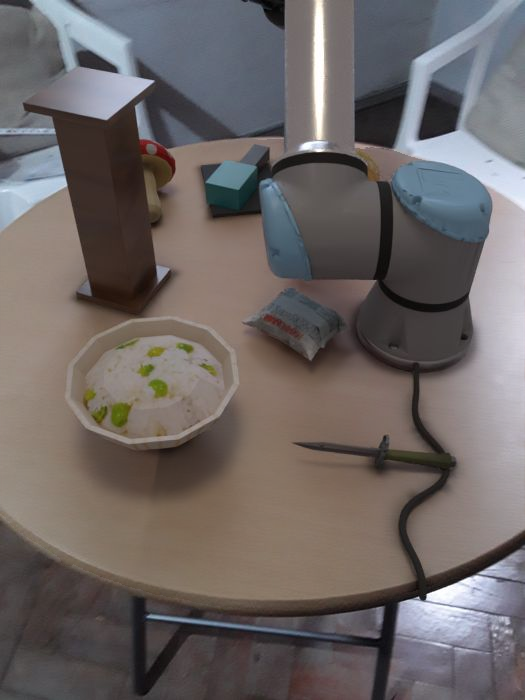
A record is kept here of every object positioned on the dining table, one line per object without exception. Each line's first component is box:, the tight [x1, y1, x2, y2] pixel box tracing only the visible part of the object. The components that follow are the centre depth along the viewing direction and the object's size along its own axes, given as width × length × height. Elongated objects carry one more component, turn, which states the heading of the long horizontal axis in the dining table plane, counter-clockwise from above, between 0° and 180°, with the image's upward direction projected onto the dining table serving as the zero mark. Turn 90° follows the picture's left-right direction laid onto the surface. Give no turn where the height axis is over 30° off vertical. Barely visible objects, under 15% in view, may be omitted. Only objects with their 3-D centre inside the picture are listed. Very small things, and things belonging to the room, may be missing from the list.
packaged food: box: [241, 286, 351, 362], centre depth 90 cm, size 9×12×5 cm
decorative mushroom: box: [139, 138, 177, 224], centre depth 111 cm, size 11×11×15 cm
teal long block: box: [204, 143, 271, 211], centre depth 117 cm, size 18×6×4 cm, turn 158°
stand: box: [22, 65, 172, 316], centre depth 89 cm, size 11×11×29 cm
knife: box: [291, 433, 457, 471], centre depth 75 cm, size 19×2×5 cm, turn 87°
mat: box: [200, 161, 271, 218], centre depth 118 cm, size 16×12×1 cm
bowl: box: [64, 315, 240, 451], centre depth 77 cm, size 19×19×10 cm
